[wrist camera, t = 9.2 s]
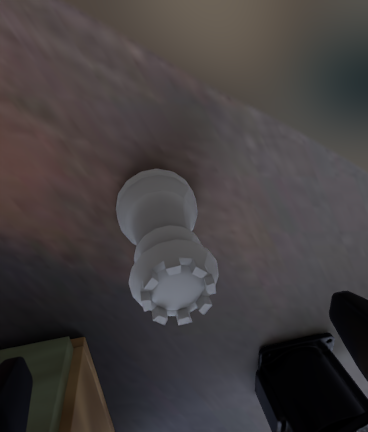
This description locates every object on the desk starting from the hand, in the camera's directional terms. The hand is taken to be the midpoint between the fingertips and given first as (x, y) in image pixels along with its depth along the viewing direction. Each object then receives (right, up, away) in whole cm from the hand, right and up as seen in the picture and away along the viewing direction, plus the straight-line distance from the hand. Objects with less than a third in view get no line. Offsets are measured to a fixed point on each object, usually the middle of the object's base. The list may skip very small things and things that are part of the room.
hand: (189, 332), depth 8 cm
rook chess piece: (-2, +4, +9) cm, 10 cm away
